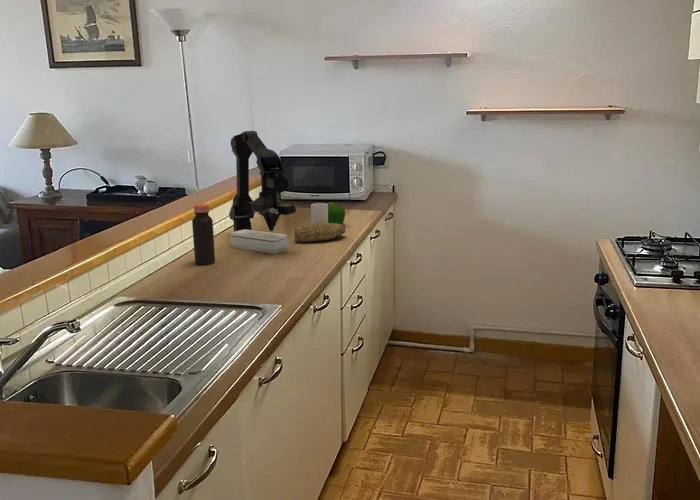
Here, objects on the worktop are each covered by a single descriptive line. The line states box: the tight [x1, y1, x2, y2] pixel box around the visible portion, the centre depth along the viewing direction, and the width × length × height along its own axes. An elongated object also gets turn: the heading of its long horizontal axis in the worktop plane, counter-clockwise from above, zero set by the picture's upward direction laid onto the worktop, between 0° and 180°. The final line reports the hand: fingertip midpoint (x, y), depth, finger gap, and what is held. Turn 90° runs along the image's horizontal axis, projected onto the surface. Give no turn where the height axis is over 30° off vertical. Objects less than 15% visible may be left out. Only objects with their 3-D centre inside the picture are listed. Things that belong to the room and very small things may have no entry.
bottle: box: [191, 203, 216, 266], centre depth 236 cm, size 7×7×20 cm
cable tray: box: [230, 235, 289, 254], centre depth 257 cm, size 20×8×4 cm, turn 60°
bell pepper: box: [328, 202, 346, 225], centre depth 290 cm, size 8×8×10 cm
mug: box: [310, 202, 329, 224], centre depth 277 cm, size 10×7×12 cm, turn 166°
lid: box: [230, 229, 288, 241], centre depth 257 cm, size 20×8×1 cm, turn 60°
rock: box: [293, 222, 346, 244], centre depth 268 cm, size 13×8×20 cm
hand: (271, 230), depth 253 cm, fingers closed
